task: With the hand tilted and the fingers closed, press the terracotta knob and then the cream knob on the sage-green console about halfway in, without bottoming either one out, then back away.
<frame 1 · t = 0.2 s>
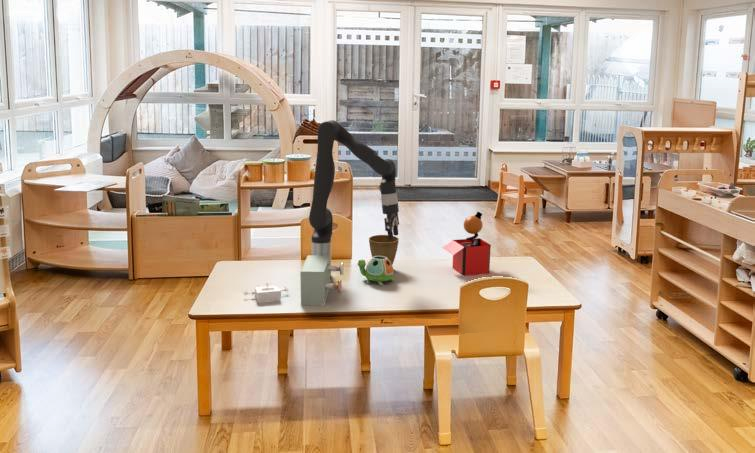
hand: (393, 237, 354), 22 cm above the table, tool pointing down, fingers open, 8 cm apart
turtle holder: (376, 281, 363), on the table
plunger terracotta: (325, 286, 334), point 6 cm above the table, slide at 0.0 cm
plunger cream: (328, 268, 345), point 11 cm above the table, slide at 0.0 cm
jack-in-the-box: (470, 270, 383), on the table
console: (315, 295, 341), on the table
cartoon character: (266, 297, 340), on the table
plant pot: (383, 269, 383), on the table
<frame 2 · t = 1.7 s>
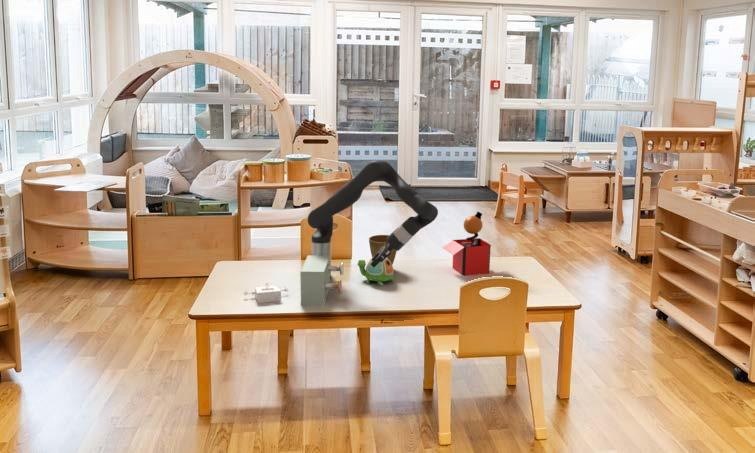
hand: (372, 263, 331), 17 cm above the table, tool tilted 45°, fingers open, 7 cm apart
nothing on the table moved.
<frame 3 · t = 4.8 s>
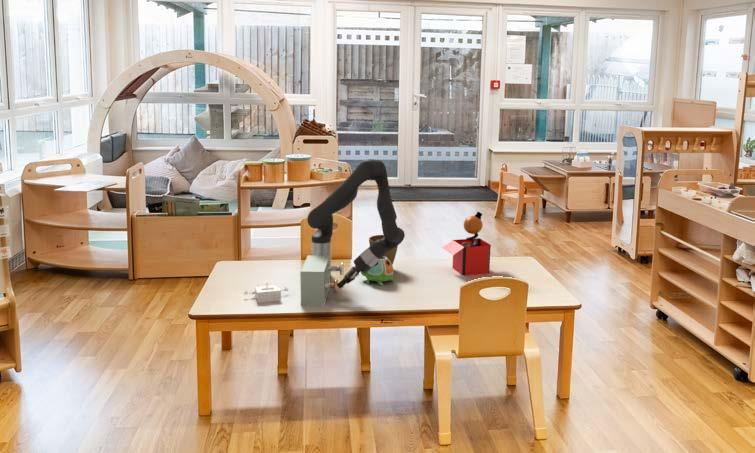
hand: (338, 286, 334), 6 cm above the table, tool tilted 45°, fingers closed
plunger terracotta: (322, 285, 334), point 6 cm above the table, slide at 1.6 cm, touching gripper
everything else where it was.
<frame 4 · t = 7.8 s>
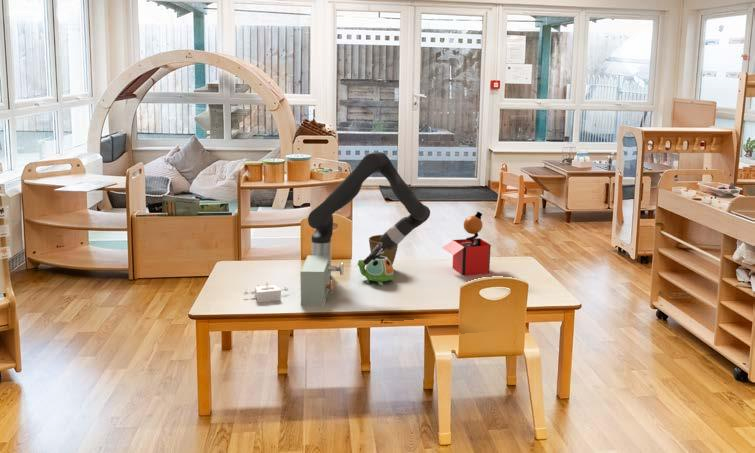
hand: (364, 263, 339), 15 cm above the table, tool tilted 45°, fingers closed
plunger terracotta: (318, 285, 334), point 7 cm above the table, slide at 3.4 cm
everything else where it was.
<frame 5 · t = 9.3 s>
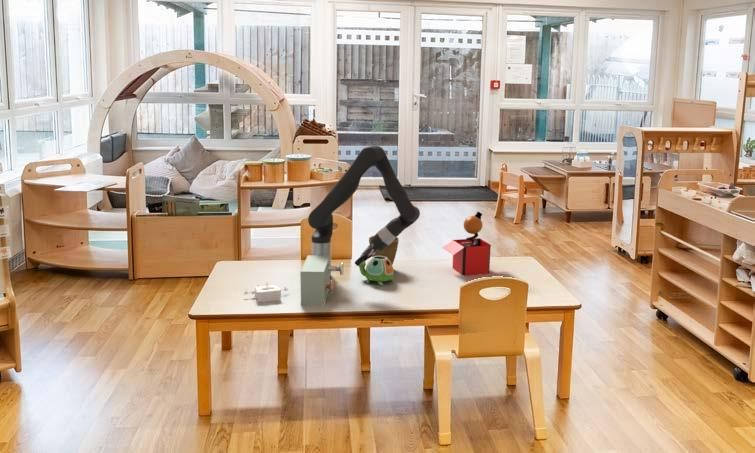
hand: (356, 264, 344), 13 cm above the table, tool tilted 45°, fingers closed
nothing on the table moved.
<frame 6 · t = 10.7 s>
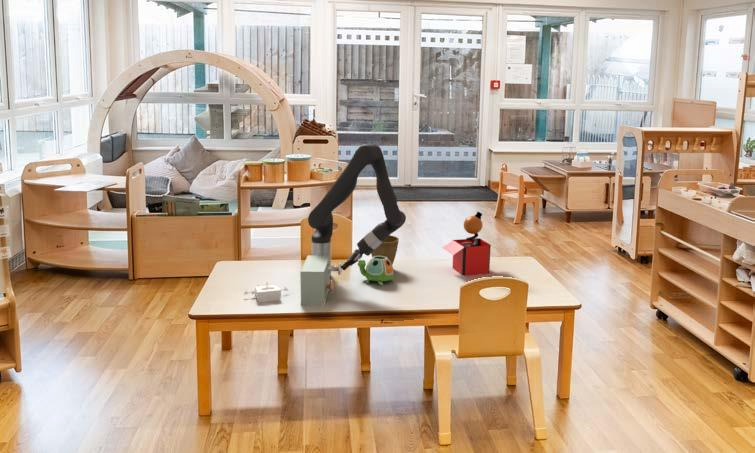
hand: (342, 268, 345), 11 cm above the table, tool tilted 45°, fingers closed
plunger cream: (326, 268, 345), point 11 cm above the table, slide at 0.9 cm, touching gripper
everything else where it was.
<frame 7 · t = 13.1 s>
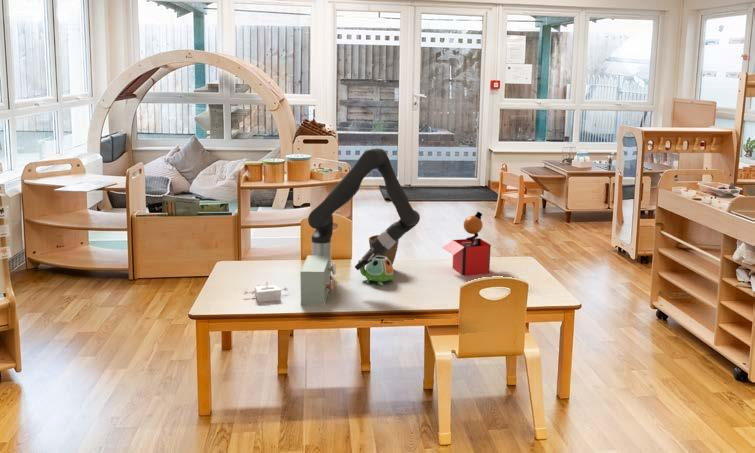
hand: (356, 268, 344), 11 cm above the table, tool tilted 45°, fingers closed
plunger cream: (320, 268, 345), point 11 cm above the table, slide at 3.4 cm
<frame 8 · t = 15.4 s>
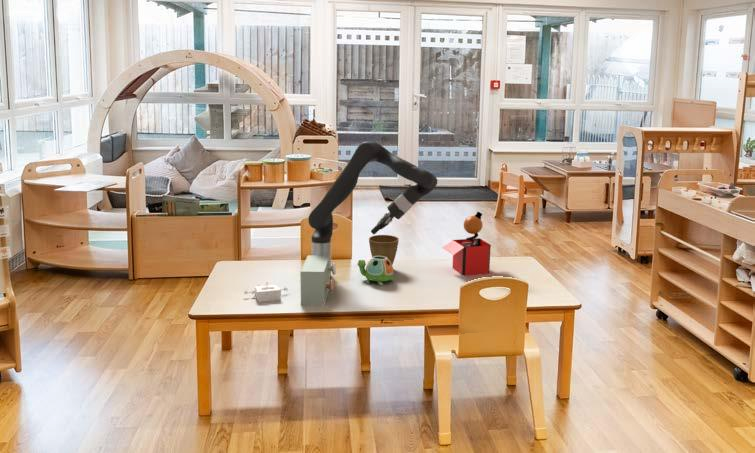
hand: (372, 232, 340), 28 cm above the table, tool tilted 45°, fingers closed
at the end: plunger terracotta slide at 3.4 cm; plunger cream slide at 3.4 cm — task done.
